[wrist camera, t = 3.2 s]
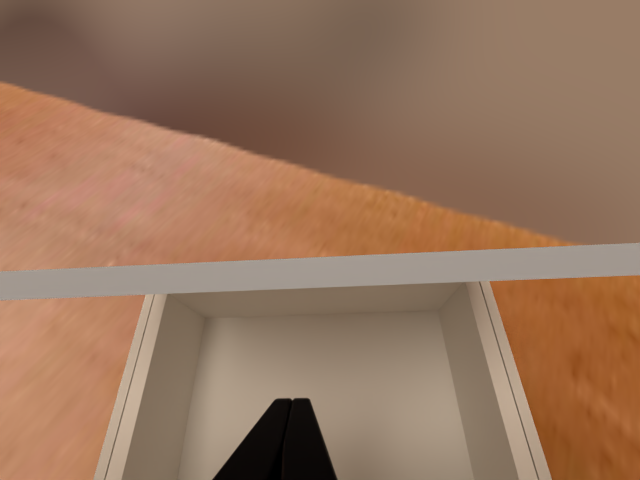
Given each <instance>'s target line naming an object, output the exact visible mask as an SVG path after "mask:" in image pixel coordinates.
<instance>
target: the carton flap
mask: <svg viewBox="0 0 640 480" xmlns="http://www.w3.org/2000/svg"><path fill="white" fill-rule="evenodd" d="M627 275H640V243H627V244H604V245H582V246H560V247H537V248H515V249H493V250H471V251H448V252H426V253H404V254H381V255H359V256H337V257H314V258H292V259H270V260H247V261H225V262H203V263H180V264H158V265H136V266H113V267H91V268H69V269H46V270H24V271H2V272H0V300H22V299H47V298H72V297H98V296H123V295H148V294H173V293H198V292H224V291H249V290H274V289H299V288H324V287H349V286H375V285H400V284H425V283H450V282H475V281H501V280H526V279H551V278H576V277H601V276H627Z"/></svg>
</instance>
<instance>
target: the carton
mask: <svg viewBox="0 0 640 480" xmlns="http://www.w3.org/2000/svg"><path fill="white" fill-rule="evenodd" d="M277 398H291V399H292V401H293V399H294V398H309V399H310V401H311V404H312V406H313V409H314V412H315V415H316V418H317V421H318V424H319V427H320V430H321V432H322V435H323V438H324V441H325V444H326V447H327V450H328V453H329V456H330V459H331V461H332V464H333V467H334V470H335V473H336V476H337V479H338V480H552V478H551V475H550V472H549V469H548V466H547V463H546V459H545V456H544V453H543V450H542V447H541V444H540V440H539V437H538V434H537V431H536V428H535V425H534V421H533V418H532V415H531V412H530V409H529V406H528V402H527V399H526V396H525V393H524V390H523V387H522V383H521V380H520V377H519V374H518V371H517V368H516V364H515V361H514V358H513V355H512V352H511V349H510V345H509V342H508V339H507V336H506V333H505V330H504V326H503V323H502V320H501V317H500V314H499V311H498V307H497V304H496V301H495V298H494V295H493V292H492V288H491V285H490V282H489V281H475V282H450V283H425V284H400V285H375V286H349V287H324V288H299V289H274V290H249V291H224V292H198V293H173V294H148V295H146V296H145V299H144V303H143V306H142V310H141V313H140V317H139V320H138V324H137V327H136V331H135V334H134V338H133V342H132V345H131V349H130V352H129V356H128V359H127V363H126V366H125V370H124V373H123V377H122V380H121V384H120V387H119V391H118V394H117V398H116V402H115V405H114V409H113V412H112V416H111V419H110V423H109V426H108V430H107V433H106V437H105V440H104V444H103V447H102V451H101V454H100V458H99V462H98V465H97V469H96V472H95V476H94V479H93V480H212V479H213V478H214V476H215V475H216V474H217V473H218V471H219V470H220V469H221V468H222V466H223V465H224V464H225V462H226V461H227V460H228V459H229V457H230V456H231V455H232V453H233V452H234V451H235V450H236V448H237V447H238V446H239V444H240V443H241V442H242V441H243V439H244V438H245V437H246V435H247V434H248V433H249V432H250V430H251V429H252V428H253V426H254V425H255V424H256V423H257V421H258V420H259V419H260V418H261V416H262V415H263V414H264V412H265V411H266V410H267V409H268V407H269V406H270V405H271V403H272V402H273V401H274V400H275V399H277Z"/></svg>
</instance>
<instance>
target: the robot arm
mask: <svg viewBox="0 0 640 480" xmlns="http://www.w3.org/2000/svg"><path fill="white" fill-rule="evenodd" d="M212 480H338V479H337V476H336V473H335V470H334V467H333V464H332V461H331V459H330V456H329V453H328V450H327V447H326V444H325V441H324V438H323V435H322V432H321V430H320V427H319V424H318V421H317V418H316V415H315V412H314V409H313V406H312V404H311V401H310V399H309V398H294V399H293V401H292V399H291V398H277V399H275V400H274V401H273V402H272V403H271V405H270V406H269V407H268V409H267V410H266V411H265V412H264V414H263V415H262V416H261V418H260V419H259V420H258V421H257V423H256V424H255V425H254V426H253V428H252V429H251V430H250V432H249V433H248V434H247V435H246V437H245V438H244V439H243V441H242V442H241V443H240V444H239V446H238V447H237V448H236V450H235V451H234V452H233V453H232V455H231V456H230V457H229V459H228V460H227V461H226V462H225V464H224V465H223V466H222V468H221V469H220V470H219V471H218V473H217V474H216V475H215V476H214V478H213V479H212Z"/></svg>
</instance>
